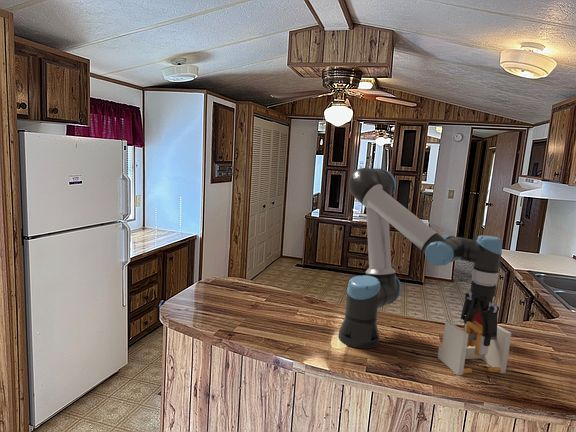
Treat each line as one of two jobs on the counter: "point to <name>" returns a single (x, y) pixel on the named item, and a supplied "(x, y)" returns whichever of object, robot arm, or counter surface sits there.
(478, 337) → the cord hank
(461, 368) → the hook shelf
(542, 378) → the counter surface
